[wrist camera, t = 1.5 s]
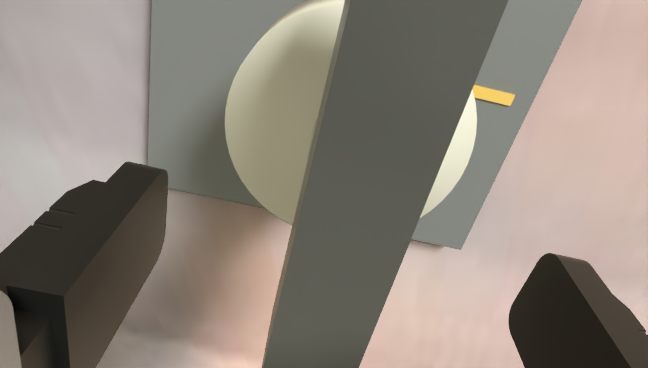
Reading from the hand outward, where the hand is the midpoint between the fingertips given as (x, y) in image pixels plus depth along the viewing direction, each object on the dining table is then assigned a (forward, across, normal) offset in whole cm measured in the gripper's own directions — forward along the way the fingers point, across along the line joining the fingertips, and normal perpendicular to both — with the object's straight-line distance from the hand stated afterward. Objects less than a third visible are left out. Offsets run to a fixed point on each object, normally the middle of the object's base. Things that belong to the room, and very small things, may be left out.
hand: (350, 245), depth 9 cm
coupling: (+8, 0, 0) cm, 8 cm away
